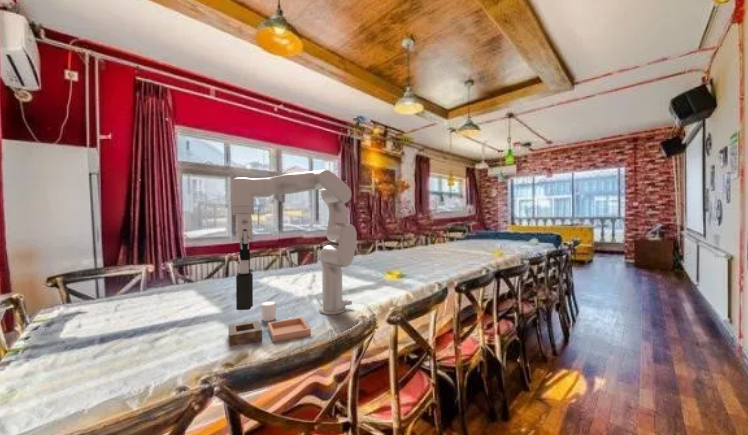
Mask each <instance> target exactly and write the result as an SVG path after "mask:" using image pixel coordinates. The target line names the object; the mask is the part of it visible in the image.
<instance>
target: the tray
mask: <svg viewBox="0 0 748 435" xmlns="http://www.w3.org/2000/svg"><path fill="white" fill-rule="evenodd" d="M267 330H268V333H269V335H270V338H271V340H272V343H277V342H282V341H287V340H293V339H297V338H303V337H307V336H311V333H312V332H311V327H310V326H309V324H308V323H307V322H306V321H305V319H304V318H303V317H301V316H300V317H296V318H295V317H294V318H289V319H282V320H277V321H271V322H270V321H269V322H267Z"/></svg>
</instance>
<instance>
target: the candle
mask: <svg viewBox="0 0 748 435" xmlns="http://www.w3.org/2000/svg"><path fill="white" fill-rule="evenodd" d="M249 261H250V259H249V260H240V259H239V263H240V264H239V267H240V270H239V272H238V273H237V275H235V278H236V279H235V281H236V284H235V285H236V286H235V287H236V288H235V290H236V291H235V292H236V293H235V298H236V300H235V301H236V308H235V309H236V311H248V310H251V309H252V307H253V305H254V304H253V303H254V302H253V301H254V299H253V297H254V295H253V293H254V291H253V290H254V289H253V287H254V284H253V283H254V281H253V280H254V278H253V276H254V275H253V273H252V272H251V271H249V270H250V269H249V266H250V264H249Z"/></svg>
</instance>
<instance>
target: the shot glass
mask: <svg viewBox="0 0 748 435" xmlns="http://www.w3.org/2000/svg"><path fill="white" fill-rule="evenodd" d="M276 311H277V301H274V300H268V301H263V302H261V303H260V313H261V320H262V321H264V322H270V321H273V320H275V319H276V314H277V312H276Z"/></svg>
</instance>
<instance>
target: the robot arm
mask: <svg viewBox="0 0 748 435" xmlns="http://www.w3.org/2000/svg"><path fill="white" fill-rule="evenodd" d="M230 186H231V210H232V216H235V222H236V223H235V225H236V227H235V228H236V236H237V240H238V242H239V261H240V260H249V261H250V260H251V257H250V256H251V255H250V241H251V242H252V241H253V240H254V235H253V234H254V233H253V218H252V216H253V215H255V207H254V206H255V204H254V203H255V202H254V200H255V199H257V198H260V199H261V198H269V197H272V196H274V195H292V194H298V193H304V192H310V191H316V190H321V191H320V196H321V199H322V200H323V202H324V204H326V206H327V209H328V221H327V228H326V239H327V240H328V241H330V242H331V243H337V244H338V245H336V244H327V245H324V247H323V248H322V249H320V254H319V255H320V257H319V258H320V263H321V273H322V274H321V275H322V284H321V286H322V287H321V288H322V290H321V292H322V293H321V295H322V296H321V297H322V301H321V302H322V303H321V304H322V306H320V307H319V308H318V311H319V313H321V314H323V315H331V316H332V315H334V316H335V315H340V314H343V313H344V312H345V311H346V310H347V309H346V306H351V305H352V304H353V302H352V300H348V299H345V300H344V299H343V270H342V268H348V267H350V266H351V265H352V263H353V261H354V258H355V252H356V246H357V239H358V238H357V237H358V236H357V235H358V234H357V230H356V227H355V226H354V225H353V224H351V223H347V218H348V217H347V216H348V215H347V214H348V211H347V208H346V205H345V203H348V202H349V201H350V200H351V198H352V190H351V188H350V187H349V185H348V184H347V183H345V182H344V181H343V180H342V179H341V178H340V177H338V175H336V173H334V172H332V171H330V170H328V169H319V170H318V169H317V170H311V171H301V172H292V173H285V174H282V175H277V176H271V177H262V178H250V177H234V178H232V179H231V185H230Z"/></svg>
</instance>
